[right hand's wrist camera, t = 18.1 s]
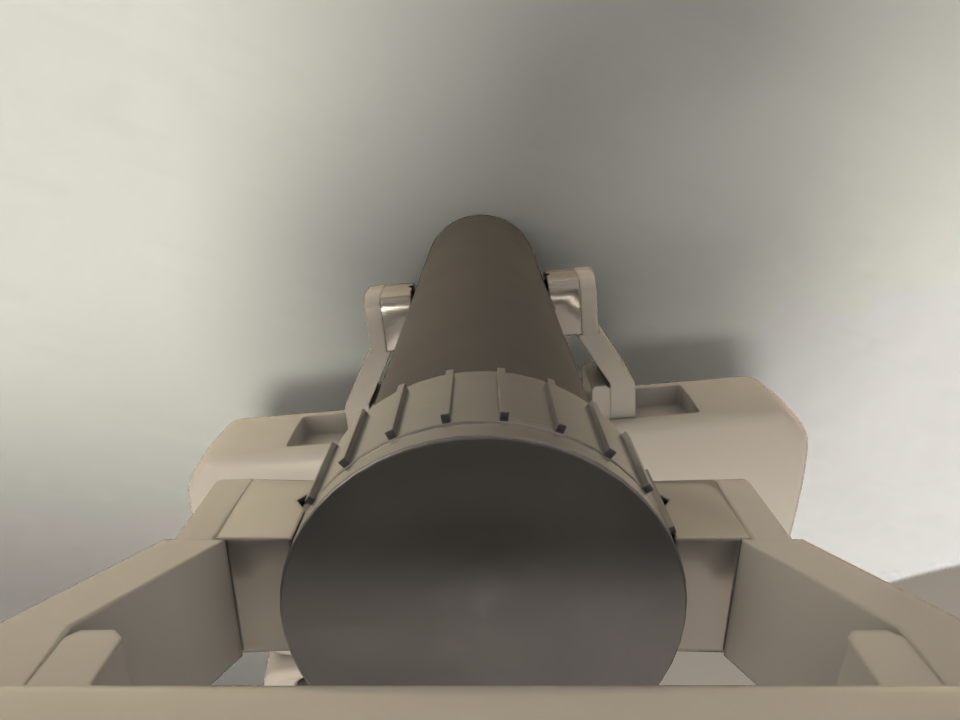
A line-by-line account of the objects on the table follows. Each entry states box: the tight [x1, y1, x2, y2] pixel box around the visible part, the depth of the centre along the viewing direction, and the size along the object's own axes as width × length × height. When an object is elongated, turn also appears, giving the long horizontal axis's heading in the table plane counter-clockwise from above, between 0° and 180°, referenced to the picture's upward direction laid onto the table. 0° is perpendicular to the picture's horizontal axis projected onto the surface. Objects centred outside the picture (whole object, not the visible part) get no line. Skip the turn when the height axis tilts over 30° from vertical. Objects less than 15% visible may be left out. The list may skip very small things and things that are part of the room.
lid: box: [280, 368, 687, 686], centre depth 9 cm, size 5×5×2 cm
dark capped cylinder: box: [375, 215, 589, 405], centre depth 18 cm, size 4×4×19 cm
